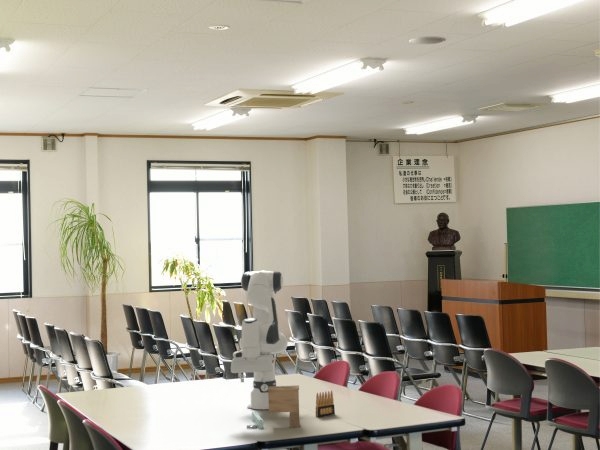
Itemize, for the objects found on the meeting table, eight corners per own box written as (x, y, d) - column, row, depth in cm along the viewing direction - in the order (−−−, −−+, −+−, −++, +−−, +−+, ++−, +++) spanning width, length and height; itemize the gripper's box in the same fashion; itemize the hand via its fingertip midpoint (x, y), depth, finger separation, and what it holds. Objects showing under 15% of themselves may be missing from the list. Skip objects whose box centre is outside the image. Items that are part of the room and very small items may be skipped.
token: (246, 427, 419) (246, 425, 419) (256, 426, 420) (256, 424, 420) (247, 429, 414) (247, 427, 414) (258, 428, 415) (258, 426, 415)
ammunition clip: (317, 417, 436) (317, 392, 436) (315, 417, 438) (314, 392, 438) (335, 414, 443) (334, 390, 443) (332, 414, 444) (331, 389, 444)
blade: (252, 420, 437) (251, 412, 437) (256, 420, 437) (256, 411, 437) (259, 428, 415) (258, 420, 415) (263, 428, 415) (263, 419, 416)
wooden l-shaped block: (269, 425, 422) (267, 386, 422) (300, 423, 422) (298, 385, 423) (268, 428, 414) (267, 389, 415) (300, 426, 415) (299, 387, 415)
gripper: (273, 351, 431) (274, 379, 431) (230, 352, 431) (231, 381, 431) (273, 352, 425) (274, 381, 425) (229, 354, 425) (230, 383, 424)
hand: (252, 381), depth 428 cm, fingers open, 8 cm apart
